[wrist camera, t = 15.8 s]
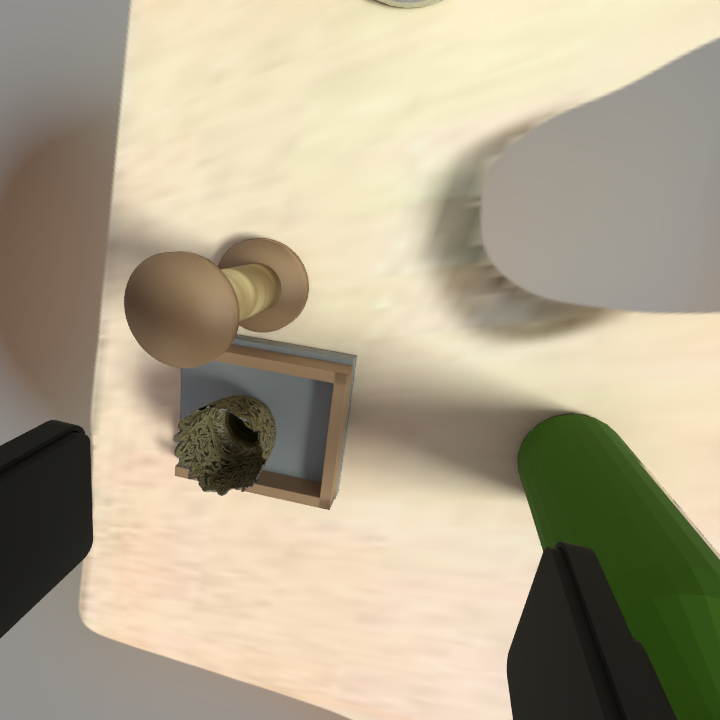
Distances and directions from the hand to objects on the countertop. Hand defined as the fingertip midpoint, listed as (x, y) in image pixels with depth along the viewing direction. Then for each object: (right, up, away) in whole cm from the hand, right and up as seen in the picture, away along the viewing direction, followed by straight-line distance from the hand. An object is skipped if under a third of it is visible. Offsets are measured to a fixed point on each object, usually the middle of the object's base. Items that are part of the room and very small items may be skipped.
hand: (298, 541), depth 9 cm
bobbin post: (-7, +10, +32) cm, 35 cm away
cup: (-8, -1, +35) cm, 36 cm away
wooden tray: (-8, -1, +36) cm, 37 cm away
